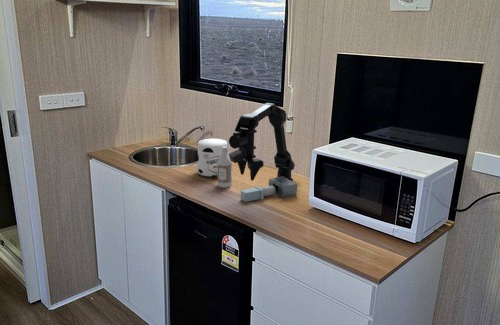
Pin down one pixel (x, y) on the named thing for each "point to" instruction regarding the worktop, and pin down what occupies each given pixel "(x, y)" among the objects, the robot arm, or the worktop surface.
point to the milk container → (209, 156)
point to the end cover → (257, 193)
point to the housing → (284, 187)
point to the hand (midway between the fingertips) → (247, 177)
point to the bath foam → (224, 169)
